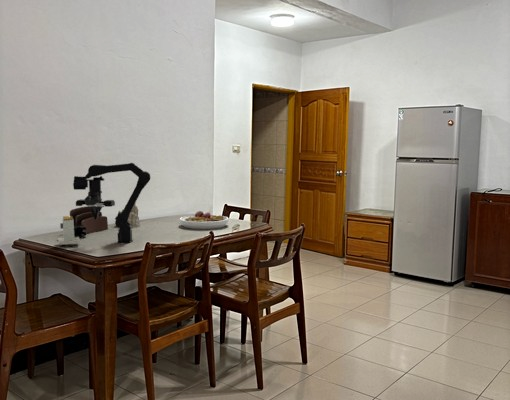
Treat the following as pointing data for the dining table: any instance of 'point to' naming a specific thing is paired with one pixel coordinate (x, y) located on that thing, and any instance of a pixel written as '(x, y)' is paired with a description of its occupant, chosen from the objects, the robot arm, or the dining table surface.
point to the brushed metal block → (68, 228)
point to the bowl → (203, 221)
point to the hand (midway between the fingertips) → (95, 219)
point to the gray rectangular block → (69, 241)
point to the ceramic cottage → (134, 217)
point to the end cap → (79, 231)
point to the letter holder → (89, 220)
